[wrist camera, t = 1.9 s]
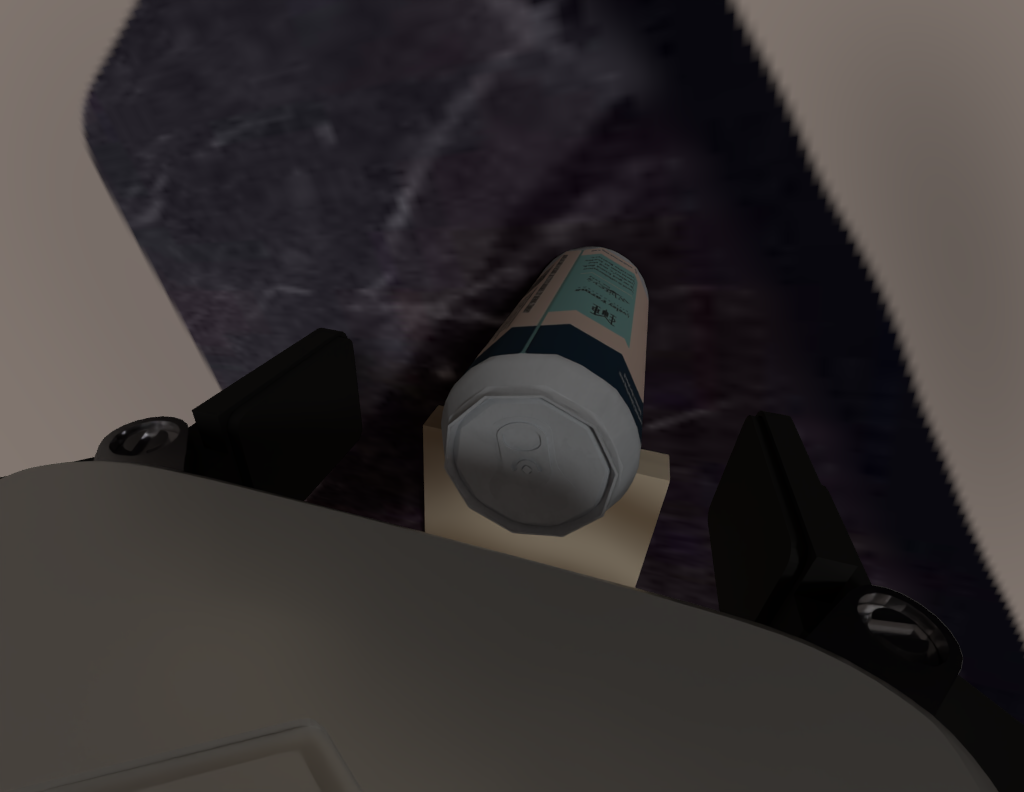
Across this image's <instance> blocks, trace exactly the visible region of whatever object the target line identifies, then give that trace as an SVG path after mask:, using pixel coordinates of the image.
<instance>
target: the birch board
mask: <svg viewBox="0 0 1024 792" xmlns="http://www.w3.org/2000/svg"><path fill="white" fill-rule="evenodd" d="M443 408H444V406H440V405H438V406H437V408H436V409H435V410H434V412H433V413H432V414H431V415H430V417H429V418H428V419H427V421H426V422H425V423H424V424H423V450H424V503H425V532H426V533H429V534H433V535H437V536H441V537H445V538H449V539H452V540H456V541H460V542H464V543H468V544H471V545H475V546H479V547H483V548H487V549H491V550H494V551H498V552H502V553H506V554H510V555H513V556H517V557H521V558H525V559H528V560H532V561H536V562H540V563H543V564H547V565H551V566H555V567H558V568H562V569H566V570H570V571H573V572H577V573H581V574H585V575H588V576H592V577H596V578H600V579H603V580H607V581H611V582H615V583H618V584H622V585H626V586H630V587H633V588H635V586H636V583H637V579H638V576H639V573H640V570H641V567H642V564H643V561H644V558H645V555H646V552H647V549H648V546H649V543H650V540H651V537H652V534H653V531H654V528H655V525H656V522H657V519H658V516H659V513H660V509H661V506H662V503H663V500H664V497H665V494H666V491H667V488H668V485H669V482H670V469H669V455H667V454H662V453H657V452H653V451H648V450H643V449H641V450H640V460H639V467H638V470H637V473H636V475H635V477H634V480H633V482H632V484H631V485H630V487H629V488H628V490H627V492H626V493H625V494H624V495H623V497H622V498H621V499H620V500H619V501H618V502H616V503H615V504H614V505H613V506H612V507H610V508H609V509H608V510H607V511H605V514H604V516H603V517H601V518H599V519H597V520H595V521H593V522H591V523H589V524H588V525H586V526H584V527H582V528H580V529H578V530H576V531H574V532H572V533H570V534H568V535H566V536H564V537H555V536H543V535H530V534H517V533H512V532H510V531H508V530H506V529H505V528H503V527H501V526H499V525H498V524H496V523H494V522H493V521H491V520H489V519H487V518H486V517H484V516H482V515H480V514H479V513H477V512H475V511H474V510H472V509H470V508H469V507H468V506H467V504H466V502H465V501H464V499H463V498H462V496H461V495H460V493H459V491H458V490H457V488H456V487H455V485H454V483H453V482H452V480H451V479H450V477H449V475H448V474H447V472H446V471H445V469H444V462H445V455H444V448H443V438H442V429H441V420H442V414H443Z"/></svg>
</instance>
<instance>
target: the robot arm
mask: <svg viewBox="0 0 1024 792" xmlns="http://www.w3.org/2000/svg"><path fill="white" fill-rule="evenodd" d="M192 412H193V415H194V418H195V421H196V423H195V424H193V425H192V426H190V427H188V425H187V423H185V422H184V421H183V420H181V419H178V418H175V417H164V416H162V417H151V418H146V419H142V420H137V421H135V422H132V423H129V424H126V425H123V426H122V427H120V428H118V429H116V430H114V431H112V432H111V433H110V434H109V435H107V436H106V437H105V438H104V439H103V441H102V442H101V443H100V445H99V447H98V450H97V453H96V455H95V457H93V458H88V459H84V460H79V461H75V462H66V463H58V464H51V465H45V466H39V467H33V468H29V469H26V470H22V471H19V472H17V473H14V474H11V475H9V476H6V477H1V478H0V792H1024V725H1023V724H1021V723H1020V722H1019V721H1017V720H1016V719H1015V718H1013V717H1012V716H1011V715H1010V714H1008V713H1007V712H1006V711H1004V710H1003V709H1002V708H1000V707H999V706H998V705H997V704H995V703H994V702H993V701H991V700H990V699H989V698H988V697H986V696H985V695H984V694H982V693H981V692H980V691H978V690H977V689H976V688H975V687H973V686H972V685H971V684H969V683H968V682H967V681H965V680H964V679H963V678H962V677H960V676H959V675H958V674H959V672H960V670H961V667H962V662H963V656H962V653H961V650H960V647H959V644H958V642H957V641H956V639H955V638H954V636H953V635H952V633H951V632H950V630H949V629H948V628H947V627H946V626H945V625H944V624H943V623H942V622H941V621H940V620H939V619H938V618H937V617H936V616H935V615H934V614H933V613H931V612H930V611H929V610H927V609H926V608H925V607H923V606H922V605H921V604H920V603H918V602H916V601H914V600H912V599H911V598H909V597H907V596H905V595H904V594H902V593H899V592H896V591H894V590H891V589H889V588H886V587H881V586H875V585H871V582H870V580H869V578H868V576H867V574H866V572H865V569H864V567H863V565H862V563H861V561H860V558H859V556H858V554H857V552H856V550H855V548H854V545H853V543H852V541H851V539H850V537H849V535H848V532H847V530H846V528H845V526H844V524H843V522H842V519H841V517H840V515H839V513H838V511H837V508H836V506H835V504H834V502H833V500H832V498H831V495H830V493H829V491H828V490H827V488H826V487H825V486H823V485H822V484H821V483H820V481H819V478H818V476H817V474H816V472H815V470H814V467H813V465H812V463H811V461H810V458H809V456H808V454H807V452H806V449H805V447H804V445H803V443H802V441H801V438H800V436H799V434H798V432H797V429H796V427H795V425H794V423H793V420H792V419H791V417H790V416H786V415H781V414H775V413H770V412H765V411H760V412H758V414H757V415H756V416H750V415H749V416H748V417H747V418H746V420H745V422H744V424H743V427H742V429H741V431H740V434H739V436H738V439H737V441H736V444H735V446H734V449H733V451H732V453H731V456H730V458H729V461H728V463H727V466H726V468H725V471H724V473H723V475H722V478H721V480H720V483H719V485H718V488H717V490H716V493H715V495H714V497H713V500H712V502H711V505H710V508H709V513H708V526H709V533H710V541H711V549H712V556H713V564H714V571H715V579H716V587H717V594H718V602H719V609H720V611H716V610H713V609H710V608H706V607H703V606H700V605H696V604H693V603H690V602H686V601H682V600H678V599H674V598H671V597H667V596H663V595H659V594H656V593H652V592H648V591H645V590H641V589H637V588H633V587H630V586H626V585H622V584H618V583H615V582H611V581H607V580H603V579H600V578H596V577H592V576H588V575H585V574H581V573H577V572H573V571H570V570H566V569H562V568H558V567H555V566H551V565H547V564H543V563H540V562H536V561H532V560H528V559H525V558H521V557H517V556H513V555H510V554H506V553H502V552H498V551H494V550H491V549H487V548H483V547H479V546H475V545H471V544H468V543H464V542H460V541H456V540H452V539H449V538H445V537H441V536H437V535H433V534H429V533H426V532H422V531H418V530H414V529H410V528H406V527H402V526H399V525H395V524H391V523H387V522H383V521H379V520H375V519H372V518H368V517H364V516H360V515H356V514H352V513H348V512H344V511H340V510H336V509H332V508H328V507H324V506H321V505H317V504H313V503H309V502H305V501H304V500H305V499H306V498H307V497H308V496H309V495H310V494H311V492H312V491H313V490H314V489H315V488H316V487H317V486H318V485H319V484H320V482H321V481H322V480H323V479H324V478H325V477H326V476H327V475H328V474H329V472H330V471H331V470H332V469H333V468H334V467H335V466H336V465H337V463H338V462H339V461H340V460H341V459H342V458H343V457H344V456H345V455H346V453H347V452H348V451H349V450H350V449H351V448H352V447H353V446H354V445H355V443H356V442H357V441H358V440H359V438H360V436H361V432H362V422H361V413H360V404H359V395H358V386H357V377H356V368H355V359H354V351H353V344H352V341H351V340H350V339H347V336H346V334H345V333H344V332H341V331H336V330H331V329H325V328H319V329H317V330H315V331H314V332H312V333H311V334H309V335H307V336H306V337H304V338H303V339H301V340H300V341H298V342H297V343H295V344H294V345H292V346H290V347H289V348H287V349H286V350H284V351H283V352H281V353H280V354H278V355H277V356H275V357H273V358H272V359H270V360H269V361H267V362H266V363H264V364H263V365H261V366H259V367H258V368H256V369H255V370H253V371H252V372H250V373H249V374H247V375H246V376H244V377H242V378H241V379H239V380H238V381H236V382H235V383H233V384H232V385H230V386H229V387H227V388H225V389H224V390H222V391H221V392H219V393H218V394H216V395H215V396H213V397H212V398H210V399H209V400H207V401H205V402H204V403H202V404H201V405H199V406H198V407H196V408H195V409H193V410H192Z"/></svg>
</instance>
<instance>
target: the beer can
mask: <svg viewBox="0 0 1024 792" xmlns="http://www.w3.org/2000/svg"><path fill="white" fill-rule="evenodd" d="M648 302H649V300H648V292H647V289H646V286H645V283H644V280H643V278H642V276H641V274H640V273H639V271H638V270H637V268H636V267H635V266H634V265H633V264H632V263H631V262H630V261H629V260H628V259H626V258H625V257H623V256H622V255H620V254H619V253H617V252H615V251H612V250H609V249H605V248H602V247H582V248H577V249H572V250H569V251H567V252H565V253H563V254H561V255H560V256H558V257H557V258H555V259H554V260H553V261H552V262H551V263H550V264H549V265H548V266H547V267H546V268H545V269H544V271H543V272H542V274H541V275H540V276H539V278H538V279H537V280H536V282H535V283H534V284H533V285H532V287H531V288H530V289H529V291H528V292H527V293H526V294H525V296H524V297H523V298H522V300H521V301H520V302H519V304H518V305H517V306H516V307H515V309H514V310H513V311H512V313H511V314H510V315H509V316H508V318H507V319H506V320H505V322H504V323H503V324H502V325H501V327H500V328H499V329H498V331H497V332H496V333H495V334H494V336H493V337H492V338H491V340H490V341H489V342H488V343H487V345H486V346H485V347H484V349H483V350H482V351H481V352H480V354H479V355H478V356H477V358H476V359H475V360H474V362H473V363H472V364H471V365H470V367H469V368H468V369H467V371H466V372H465V373H464V374H463V376H462V377H461V378H460V379H459V380H458V381H457V382H456V383H455V384H454V386H453V388H452V389H451V391H450V392H449V395H448V397H447V399H446V401H445V405H444V408H443V414H442V420H441V429H442V438H443V448H444V455H445V462H444V469H445V471H446V472H447V474H448V475H449V477H450V479H451V480H452V482H453V483H454V485H455V487H456V488H457V490H458V491H459V493H460V495H461V496H462V498H463V499H464V501H465V502H466V504H467V506H468V507H469V508H470V509H472V510H474V511H475V512H477V513H479V514H480V515H482V516H484V517H486V518H487V519H489V520H491V521H493V522H494V523H496V524H498V525H499V526H501V527H503V528H505V529H506V530H508V531H510V532H512V533H517V534H530V535H543V536H555V537H564V536H566V535H568V534H570V533H572V532H574V531H576V530H578V529H580V528H582V527H584V526H586V525H588V524H589V523H591V522H593V521H595V520H597V519H599V518H601V517H603V516H604V514H605V511H607V510H608V509H609V508H610V507H612V506H613V505H614V504H615V503H616V502H618V501H619V500H620V499H621V498H622V497H623V495H624V494H625V493H626V492H627V490H628V488H629V487H630V485H631V484H632V482H633V480H634V477H635V475H636V473H637V470H638V467H639V460H640V450H641V437H642V417H643V398H644V379H645V360H646V340H647V321H648Z"/></svg>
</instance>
